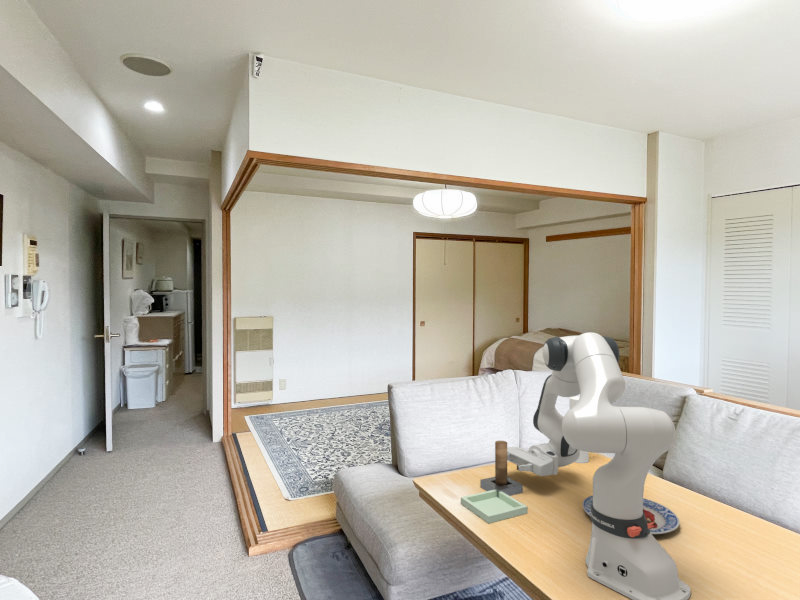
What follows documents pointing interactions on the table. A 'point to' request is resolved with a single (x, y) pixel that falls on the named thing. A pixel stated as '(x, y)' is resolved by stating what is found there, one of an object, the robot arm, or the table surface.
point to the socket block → (508, 489)
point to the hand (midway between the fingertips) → (508, 463)
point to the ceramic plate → (650, 515)
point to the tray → (493, 506)
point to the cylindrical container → (583, 454)
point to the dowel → (501, 463)
